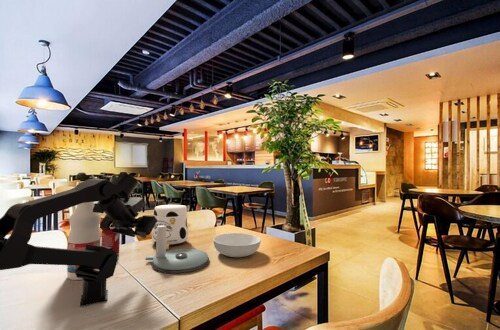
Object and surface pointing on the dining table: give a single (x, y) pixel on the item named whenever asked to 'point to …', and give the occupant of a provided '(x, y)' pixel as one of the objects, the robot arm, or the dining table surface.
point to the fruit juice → (83, 232)
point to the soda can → (111, 240)
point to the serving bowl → (236, 244)
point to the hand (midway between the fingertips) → (140, 236)
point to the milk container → (171, 223)
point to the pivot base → (179, 255)
